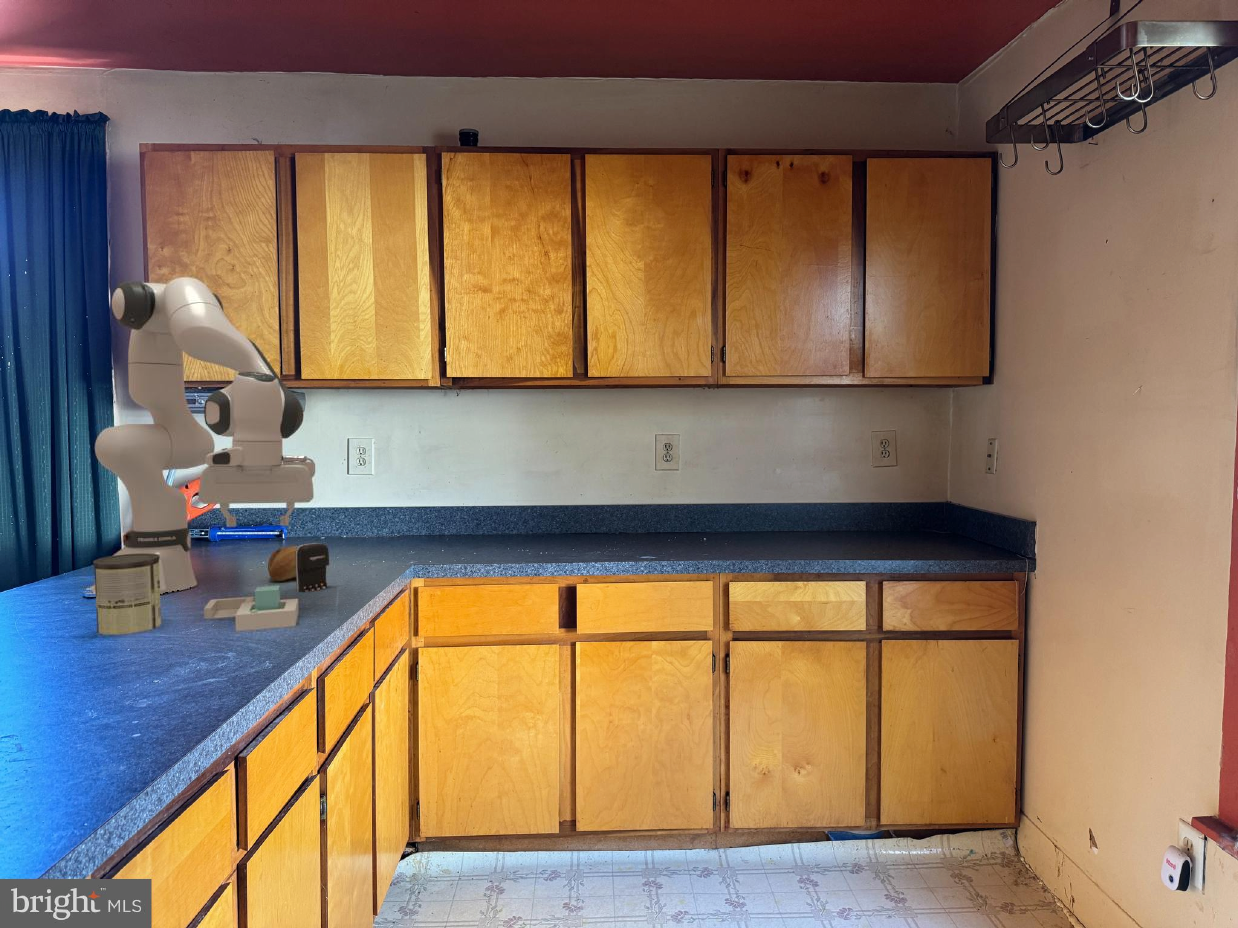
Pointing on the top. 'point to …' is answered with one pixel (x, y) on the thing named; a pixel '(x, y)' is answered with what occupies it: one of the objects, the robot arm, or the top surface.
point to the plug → (267, 598)
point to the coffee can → (127, 593)
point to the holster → (224, 607)
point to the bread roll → (282, 564)
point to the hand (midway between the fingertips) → (258, 525)
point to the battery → (311, 566)
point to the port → (267, 616)
